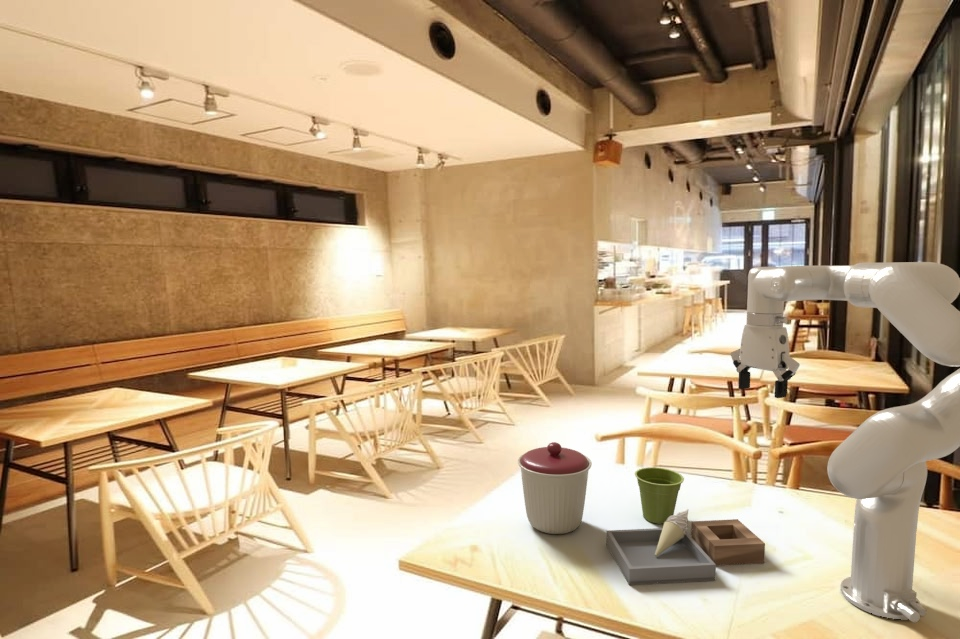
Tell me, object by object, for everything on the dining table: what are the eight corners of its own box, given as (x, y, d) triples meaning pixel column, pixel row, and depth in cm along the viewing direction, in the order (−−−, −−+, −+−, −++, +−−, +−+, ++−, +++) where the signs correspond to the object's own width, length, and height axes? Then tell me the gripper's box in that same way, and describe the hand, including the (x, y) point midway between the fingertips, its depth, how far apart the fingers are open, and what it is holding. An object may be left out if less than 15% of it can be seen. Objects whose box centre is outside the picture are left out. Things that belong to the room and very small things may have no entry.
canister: (598, 542, 129) (599, 455, 127) (521, 543, 129) (520, 456, 127) (583, 507, 147) (583, 431, 145) (515, 508, 147) (515, 432, 145)
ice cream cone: (663, 568, 121) (695, 520, 129) (668, 558, 118) (701, 510, 126) (643, 553, 124) (676, 507, 132) (647, 542, 120) (681, 496, 128)
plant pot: (686, 531, 134) (687, 486, 133) (635, 527, 136) (636, 483, 135) (679, 509, 146) (680, 468, 144) (632, 506, 148) (633, 465, 147)
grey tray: (715, 580, 113) (715, 564, 113) (629, 585, 112) (629, 569, 112) (682, 541, 129) (682, 527, 129) (606, 545, 128) (606, 530, 128)
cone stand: (764, 563, 120) (764, 543, 119) (713, 565, 119) (714, 545, 118) (736, 537, 131) (737, 519, 130) (690, 539, 130) (691, 521, 129)
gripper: (811, 323, 121) (807, 399, 123) (744, 316, 137) (741, 383, 139) (788, 325, 118) (784, 403, 120) (722, 318, 134) (720, 387, 136)
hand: (761, 392), depth 130 cm, fingers open, 9 cm apart
